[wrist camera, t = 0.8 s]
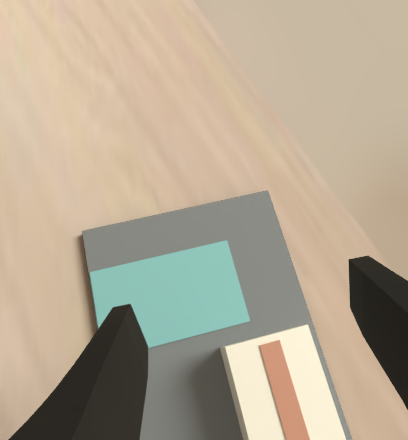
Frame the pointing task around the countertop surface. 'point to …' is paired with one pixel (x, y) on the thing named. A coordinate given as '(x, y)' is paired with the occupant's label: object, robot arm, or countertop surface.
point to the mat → (198, 304)
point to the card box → (281, 388)
